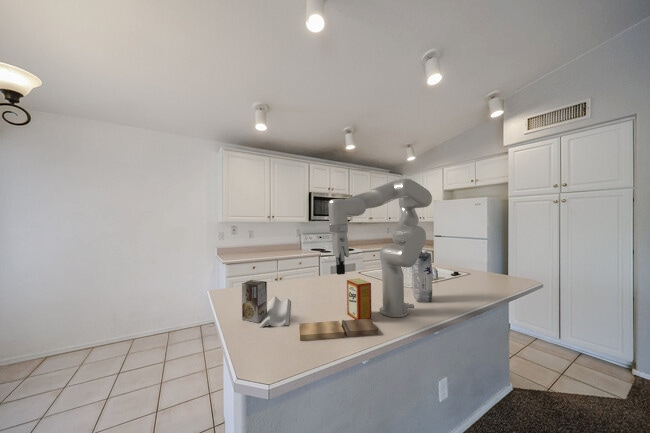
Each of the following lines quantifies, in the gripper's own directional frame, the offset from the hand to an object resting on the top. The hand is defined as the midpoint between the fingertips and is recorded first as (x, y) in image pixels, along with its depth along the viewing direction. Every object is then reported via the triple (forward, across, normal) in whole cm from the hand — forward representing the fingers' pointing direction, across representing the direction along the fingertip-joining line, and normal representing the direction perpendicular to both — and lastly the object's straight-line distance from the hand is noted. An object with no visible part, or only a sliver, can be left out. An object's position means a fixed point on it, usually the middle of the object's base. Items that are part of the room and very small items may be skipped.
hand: (340, 273), depth 98 cm
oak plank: (+21, -5, +10) cm, 23 cm away
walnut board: (+21, -5, -5) cm, 22 cm away
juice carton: (+23, +23, -50) cm, 60 cm away
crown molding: (+21, +20, +27) cm, 40 cm away
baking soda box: (+22, +8, -9) cm, 25 cm away
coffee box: (+20, +14, +37) cm, 44 cm away
